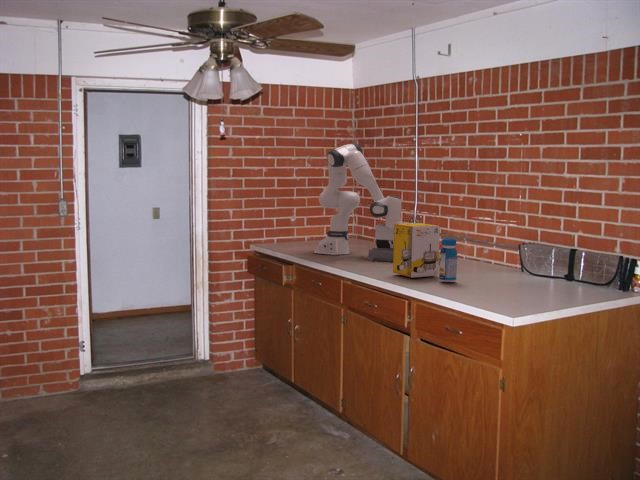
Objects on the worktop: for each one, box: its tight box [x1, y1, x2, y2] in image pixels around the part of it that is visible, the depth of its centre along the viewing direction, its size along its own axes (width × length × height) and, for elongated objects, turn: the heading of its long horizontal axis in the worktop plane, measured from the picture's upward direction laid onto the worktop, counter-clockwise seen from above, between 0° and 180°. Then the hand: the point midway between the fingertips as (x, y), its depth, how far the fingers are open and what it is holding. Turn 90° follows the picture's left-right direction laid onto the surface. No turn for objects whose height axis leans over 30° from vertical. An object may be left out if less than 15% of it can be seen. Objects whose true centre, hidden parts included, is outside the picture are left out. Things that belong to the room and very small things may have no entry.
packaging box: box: [392, 222, 441, 278], centre depth 340 cm, size 16×16×25 cm
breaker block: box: [367, 247, 394, 263], centre depth 389 cm, size 22×17×6 cm
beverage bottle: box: [438, 237, 458, 283], centre depth 322 cm, size 8×8×20 cm
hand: (392, 248), depth 388 cm, fingers closed
